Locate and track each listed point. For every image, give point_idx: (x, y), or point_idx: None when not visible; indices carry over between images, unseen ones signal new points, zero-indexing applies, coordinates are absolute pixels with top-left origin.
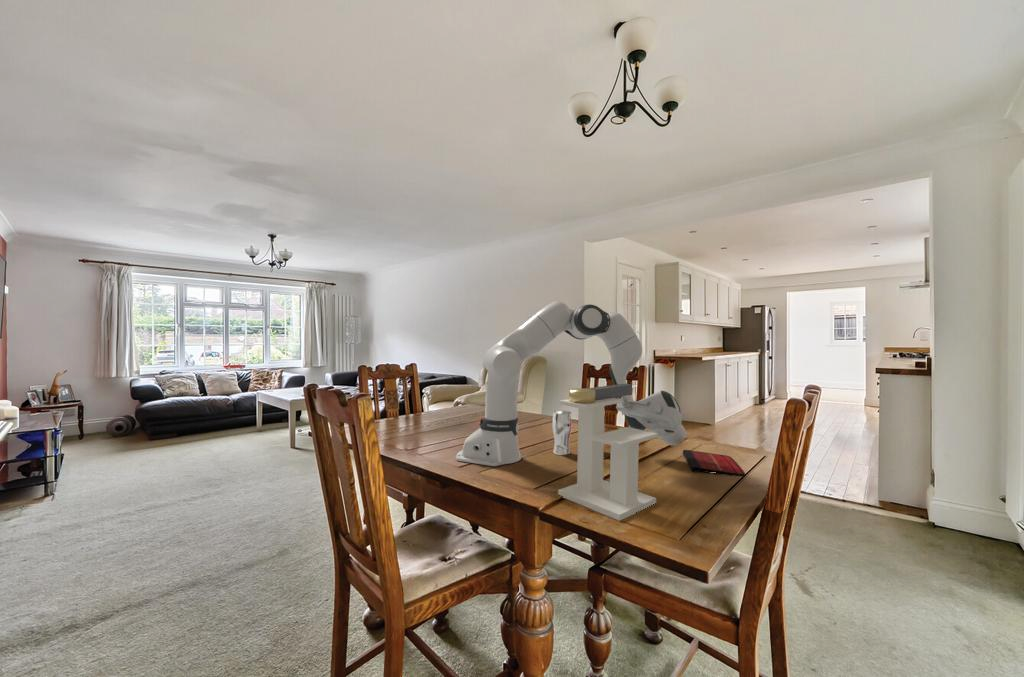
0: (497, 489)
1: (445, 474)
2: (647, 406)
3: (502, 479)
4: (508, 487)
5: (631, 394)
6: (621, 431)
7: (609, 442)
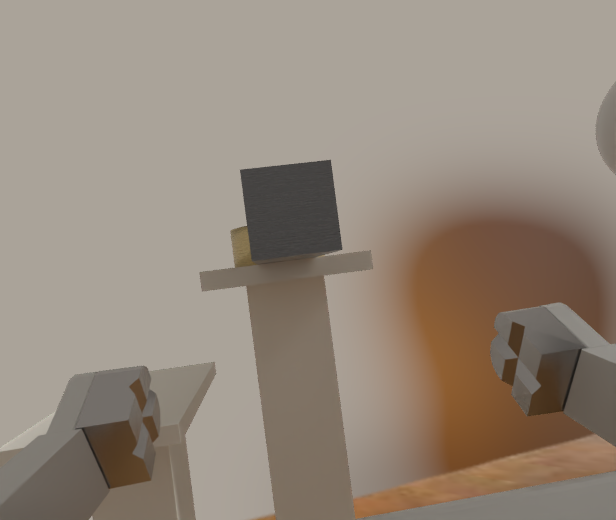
0: (469, 477)
1: None
2: (153, 431)
3: None
4: (477, 493)
5: (252, 258)
6: (165, 398)
7: None
